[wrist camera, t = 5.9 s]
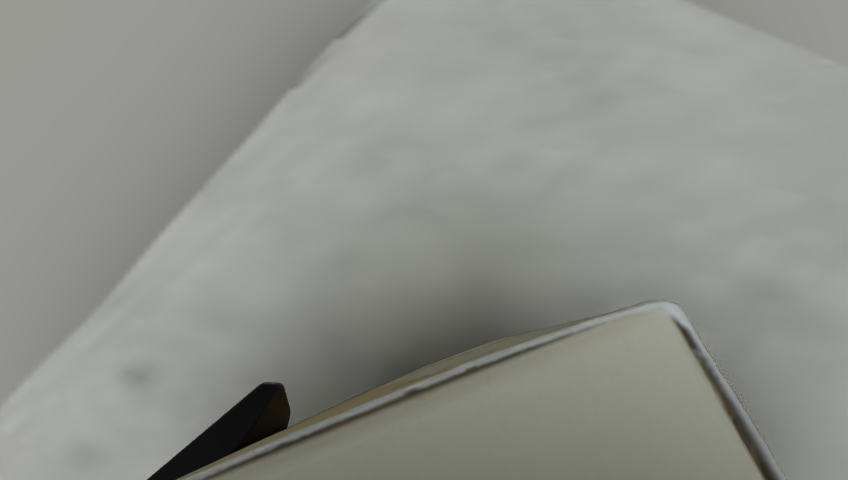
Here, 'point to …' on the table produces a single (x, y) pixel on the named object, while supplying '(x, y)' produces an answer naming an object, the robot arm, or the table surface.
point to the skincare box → (534, 414)
